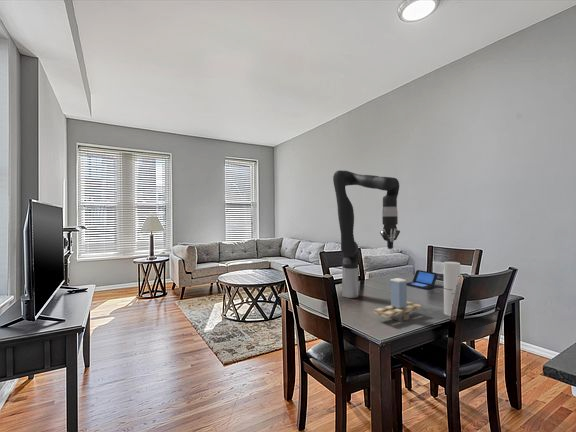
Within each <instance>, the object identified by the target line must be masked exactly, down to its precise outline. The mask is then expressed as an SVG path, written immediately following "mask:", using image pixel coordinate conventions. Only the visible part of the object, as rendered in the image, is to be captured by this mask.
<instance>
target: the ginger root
mask: <svg viewBox="0 0 576 432" xmlns="http://www.w3.org/2000/svg"><path fill="white" fill-rule="evenodd" d="M420 309H422V305H421V304H418V303H415V302H411V301H410V300H409V301H408V300H407V307H403V308H398V309H395V307H394V306H391V304H390V305H385V306H382V307H378V308H374V309H373V310H372V313H373V314H375V315H378V316H380V317H383V318H384V319H385V318H386V319H387V318H389V319H392V320H395V321H397V322H399V323H400V322H404V321H405V322H406V321H407V320H410V312H413V311H417V310H420Z"/></svg>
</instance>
